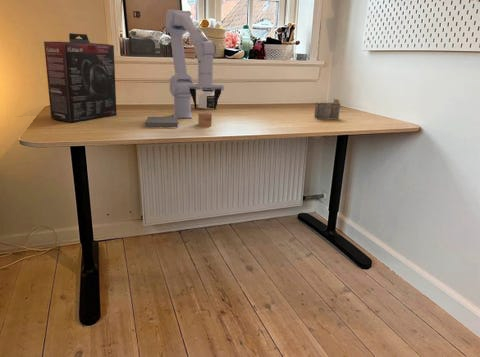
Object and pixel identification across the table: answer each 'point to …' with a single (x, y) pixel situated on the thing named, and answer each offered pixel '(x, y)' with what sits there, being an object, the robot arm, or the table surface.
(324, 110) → the ruin model on sheet
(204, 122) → the cube
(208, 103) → the medicine bottle
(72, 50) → the headset box
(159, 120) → the base block
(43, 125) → the table surface
